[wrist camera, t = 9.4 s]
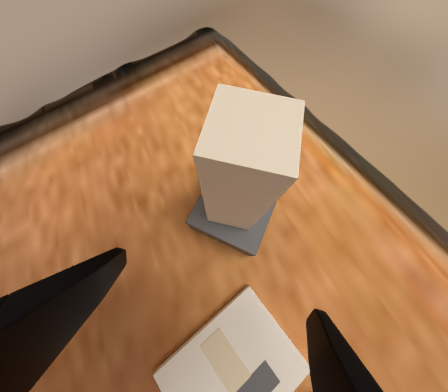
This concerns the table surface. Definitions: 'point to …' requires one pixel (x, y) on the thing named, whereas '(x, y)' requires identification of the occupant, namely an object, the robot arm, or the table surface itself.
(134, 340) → the table surface
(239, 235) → the charcoal slab
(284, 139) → the cream block
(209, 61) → the table surface
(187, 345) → the tile
